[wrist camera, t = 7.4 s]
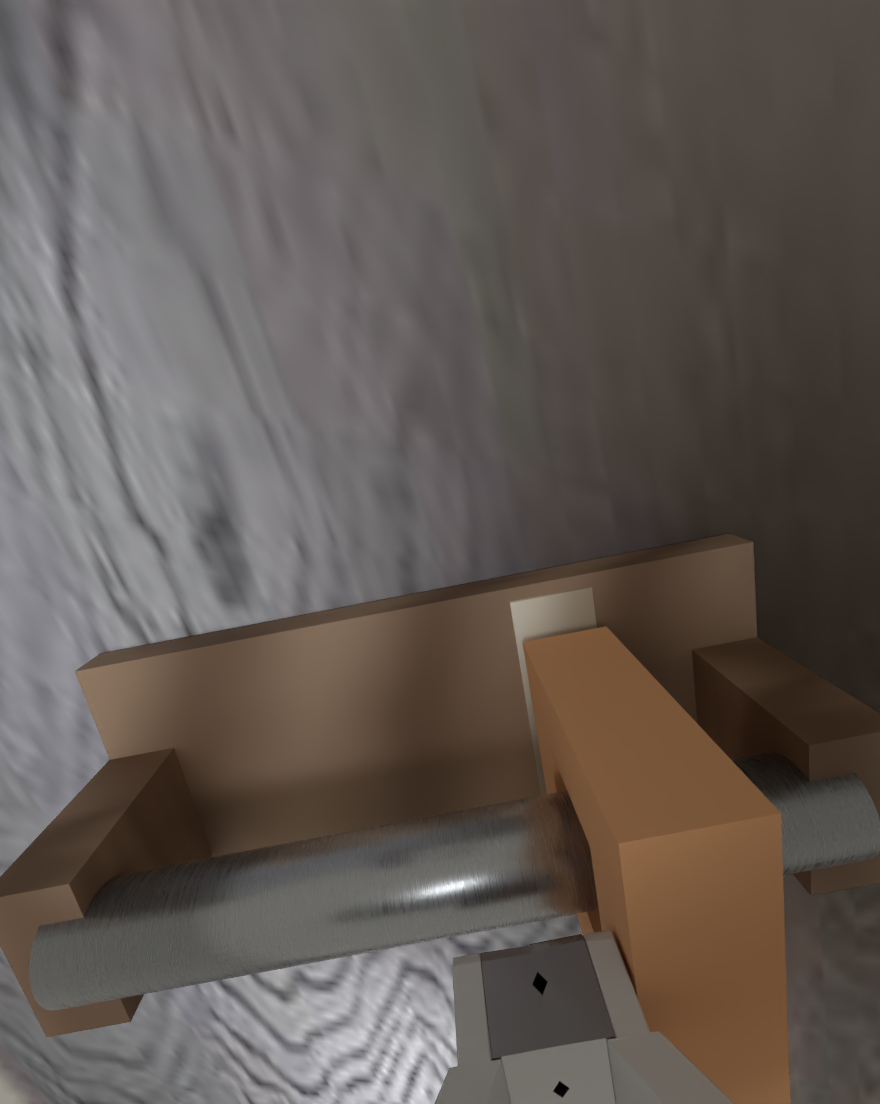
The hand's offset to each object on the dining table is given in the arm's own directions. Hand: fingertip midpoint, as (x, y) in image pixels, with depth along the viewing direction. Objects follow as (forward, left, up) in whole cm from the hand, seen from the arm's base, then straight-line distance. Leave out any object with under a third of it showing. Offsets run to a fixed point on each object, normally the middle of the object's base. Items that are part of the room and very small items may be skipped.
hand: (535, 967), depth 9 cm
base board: (+1, 0, -8) cm, 8 cm away
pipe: (+1, 0, -4) cm, 4 cm away
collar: (-3, 0, -6) cm, 7 cm away
